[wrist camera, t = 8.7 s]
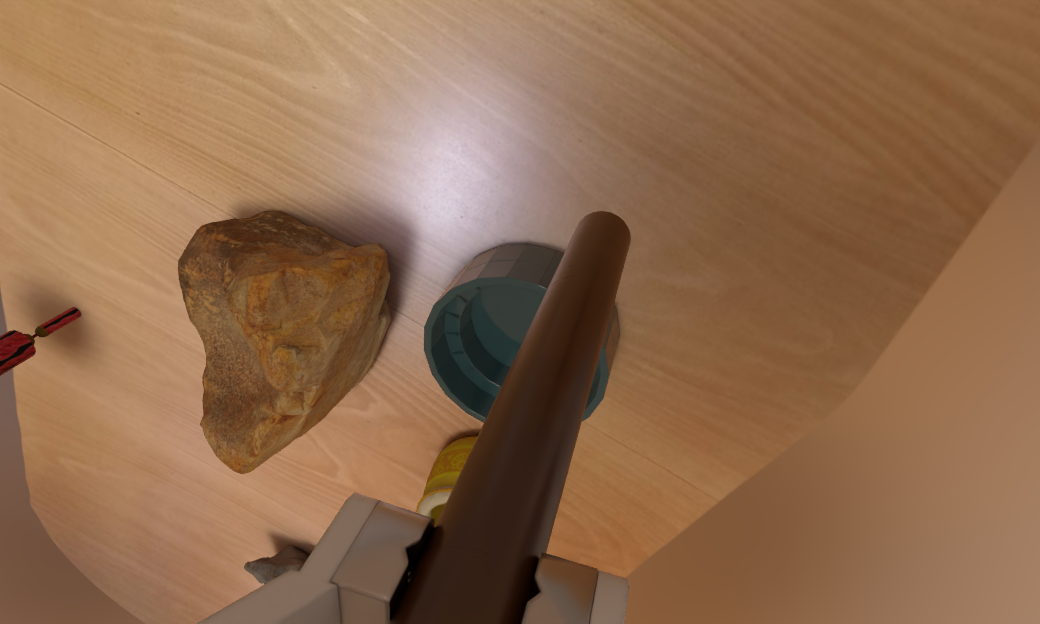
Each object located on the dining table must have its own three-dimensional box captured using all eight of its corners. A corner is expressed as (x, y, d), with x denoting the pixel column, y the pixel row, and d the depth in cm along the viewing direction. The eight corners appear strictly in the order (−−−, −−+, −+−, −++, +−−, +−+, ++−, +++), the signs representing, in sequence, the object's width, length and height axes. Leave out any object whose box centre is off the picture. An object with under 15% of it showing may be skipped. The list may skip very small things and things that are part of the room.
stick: (636, 217, 21) (449, 900, 6) (624, 267, 22) (440, 947, 7) (580, 205, 21) (271, 825, 6) (571, 254, 22) (290, 879, 7)
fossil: (260, 545, 81) (220, 598, 74) (280, 517, 76) (238, 571, 69) (328, 589, 82) (294, 645, 76) (352, 565, 77) (318, 622, 70)
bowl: (636, 264, 44) (626, 305, 39) (601, 406, 52) (589, 455, 47) (456, 223, 46) (425, 257, 41) (449, 364, 54) (422, 407, 49)
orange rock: (283, 108, 46) (106, 161, 34) (452, 238, 46) (335, 337, 34) (225, 299, 60) (85, 385, 48) (355, 399, 60) (248, 509, 48)
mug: (441, 490, 64) (390, 589, 54) (443, 415, 58) (386, 512, 48) (556, 525, 61) (524, 635, 52) (570, 451, 55) (538, 560, 46)
